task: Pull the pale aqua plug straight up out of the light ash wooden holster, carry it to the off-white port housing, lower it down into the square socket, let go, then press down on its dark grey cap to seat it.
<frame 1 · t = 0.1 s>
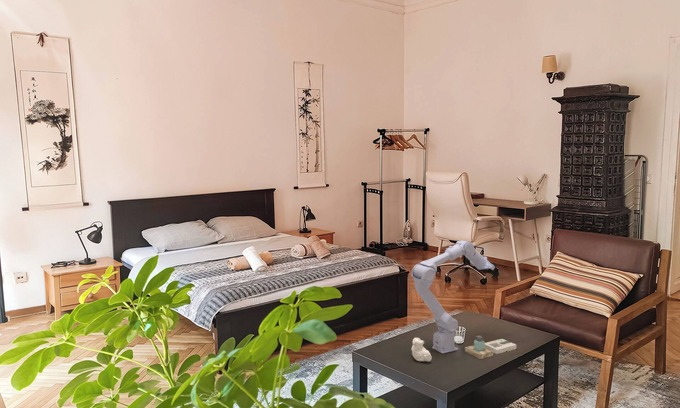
hand: (492, 273, 254), 32 cm above the table, tool tilted 50°, fingers open, 7 cm apart
port housing: (495, 349, 243), on the table
white animal figurine: (420, 360, 233), on the table
plug: (479, 345, 238), in the holster
holster: (479, 353, 238), on the table
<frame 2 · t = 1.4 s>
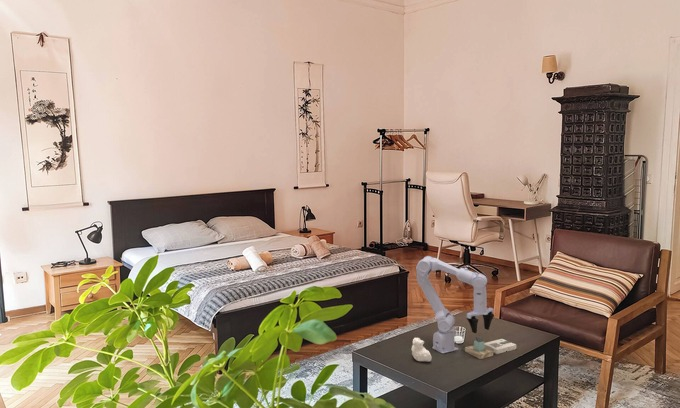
hand: (480, 330, 237), 11 cm above the table, tool pointing down, fingers open, 7 cm apart
nothing on the table moved.
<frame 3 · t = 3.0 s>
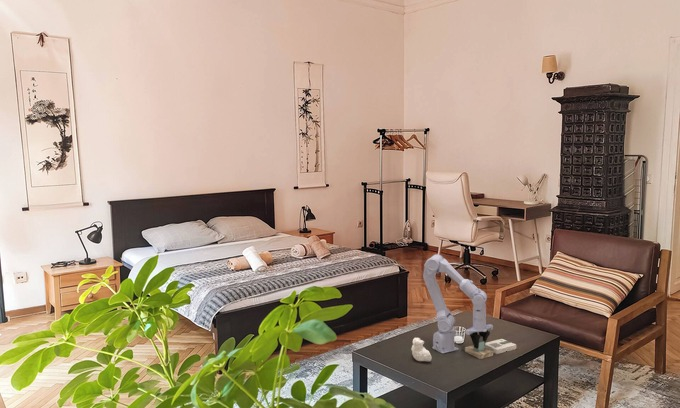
hand: (479, 347, 238), 3 cm above the table, tool pointing down, fingers closed on plug, 3 cm apart
plug: (479, 345, 238), in the holster, touching gripper
everything else where it was.
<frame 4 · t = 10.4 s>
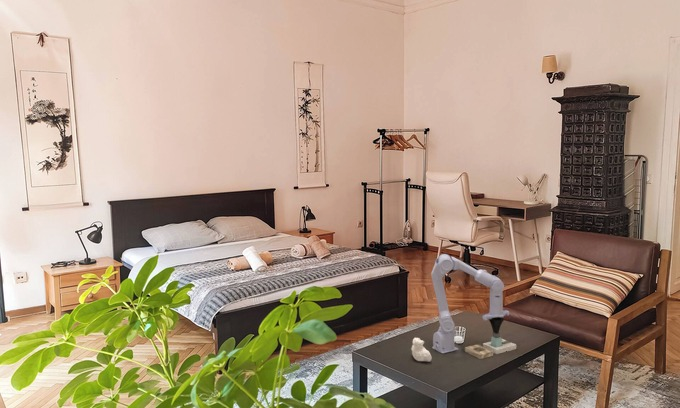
hand: (495, 332, 242), 8 cm above the table, tool pointing down, fingers closed, pressing on plug
plug: (496, 341, 242), in the port housing, touching gripper
everything else where it was.
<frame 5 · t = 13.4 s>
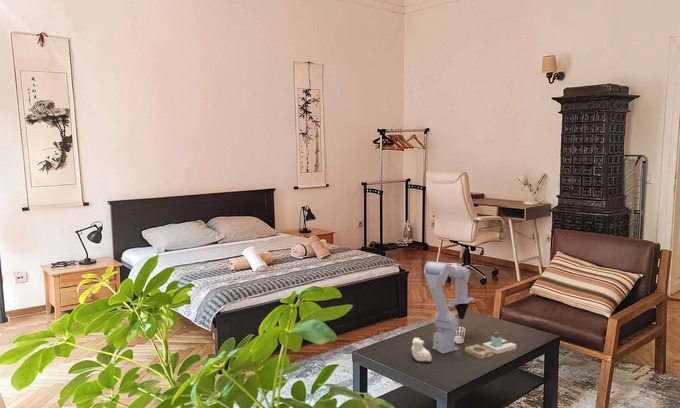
hand: (461, 318, 255), 10 cm above the table, tool pointing down, fingers closed
plug: (496, 341, 242), in the port housing
everything else where it was.
at the end: plug 0.4 cm off-centre on the port housing, point 4.0 cm above the port housing's base; plug tilted 0°; the gripper is holding nothing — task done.
